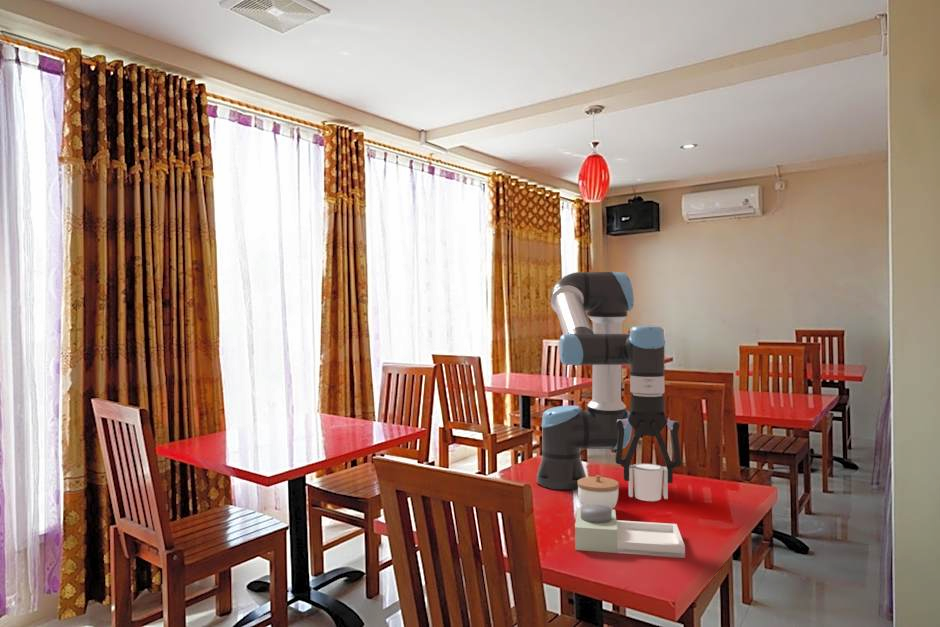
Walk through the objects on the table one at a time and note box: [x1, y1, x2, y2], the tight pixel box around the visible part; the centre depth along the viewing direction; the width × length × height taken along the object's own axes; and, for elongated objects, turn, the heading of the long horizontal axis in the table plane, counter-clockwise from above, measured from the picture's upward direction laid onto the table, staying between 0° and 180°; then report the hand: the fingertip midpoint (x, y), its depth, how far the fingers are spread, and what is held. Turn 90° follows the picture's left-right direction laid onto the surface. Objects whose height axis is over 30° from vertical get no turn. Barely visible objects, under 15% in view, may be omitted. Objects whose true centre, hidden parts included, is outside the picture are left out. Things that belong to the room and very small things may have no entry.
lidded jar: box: [577, 474, 620, 510], centre depth 161 cm, size 11×11×9 cm
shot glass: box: [632, 462, 664, 502], centre depth 138 cm, size 7×7×7 cm
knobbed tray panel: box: [574, 505, 686, 559], centre depth 139 cm, size 14×23×7 cm, turn 78°
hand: (647, 496), depth 138 cm, fingers closed on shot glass, 7 cm apart
